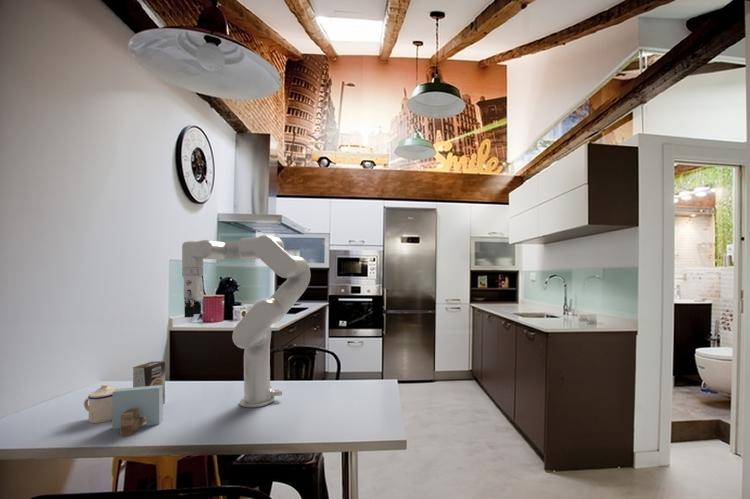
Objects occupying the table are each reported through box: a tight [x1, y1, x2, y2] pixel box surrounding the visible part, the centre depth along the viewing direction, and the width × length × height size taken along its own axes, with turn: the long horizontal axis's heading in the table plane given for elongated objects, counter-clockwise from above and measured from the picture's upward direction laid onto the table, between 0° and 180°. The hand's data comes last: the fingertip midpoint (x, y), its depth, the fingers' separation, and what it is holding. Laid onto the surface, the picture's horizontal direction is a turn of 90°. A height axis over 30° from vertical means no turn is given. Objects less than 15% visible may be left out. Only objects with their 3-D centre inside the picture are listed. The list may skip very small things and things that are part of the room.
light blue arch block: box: [111, 385, 164, 430], centre depth 121 cm, size 14×3×12 cm, turn 101°
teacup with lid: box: [83, 383, 120, 424], centre depth 127 cm, size 12×9×12 cm
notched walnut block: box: [120, 408, 146, 437], centre depth 121 cm, size 16×3×6 cm, turn 11°
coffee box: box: [132, 361, 166, 404], centre depth 137 cm, size 9×6×16 cm
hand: (193, 315), depth 143 cm, fingers open, 9 cm apart
